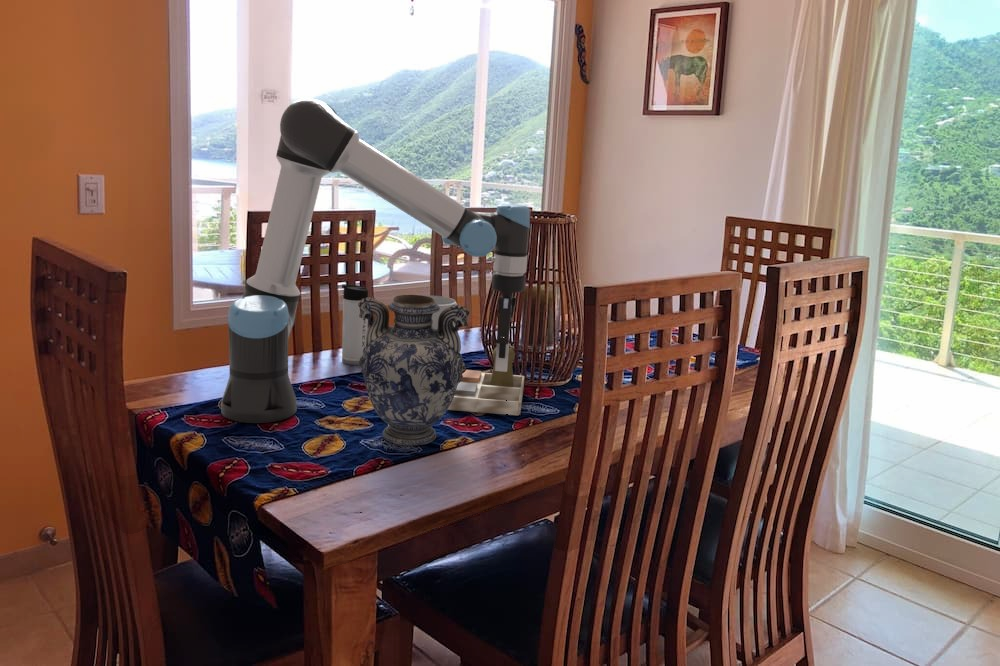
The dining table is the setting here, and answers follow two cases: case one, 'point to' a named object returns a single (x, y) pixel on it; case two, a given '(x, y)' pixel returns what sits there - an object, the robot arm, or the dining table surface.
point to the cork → (503, 377)
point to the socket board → (487, 394)
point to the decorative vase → (411, 364)
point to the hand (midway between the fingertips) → (502, 362)
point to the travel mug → (353, 324)
